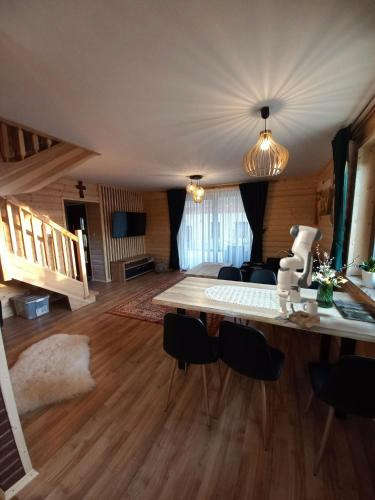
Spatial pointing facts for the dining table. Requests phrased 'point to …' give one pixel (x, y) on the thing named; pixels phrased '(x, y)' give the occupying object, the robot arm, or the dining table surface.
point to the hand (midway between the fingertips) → (283, 309)
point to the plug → (283, 313)
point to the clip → (292, 309)
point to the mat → (281, 319)
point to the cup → (311, 307)
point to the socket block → (304, 319)
